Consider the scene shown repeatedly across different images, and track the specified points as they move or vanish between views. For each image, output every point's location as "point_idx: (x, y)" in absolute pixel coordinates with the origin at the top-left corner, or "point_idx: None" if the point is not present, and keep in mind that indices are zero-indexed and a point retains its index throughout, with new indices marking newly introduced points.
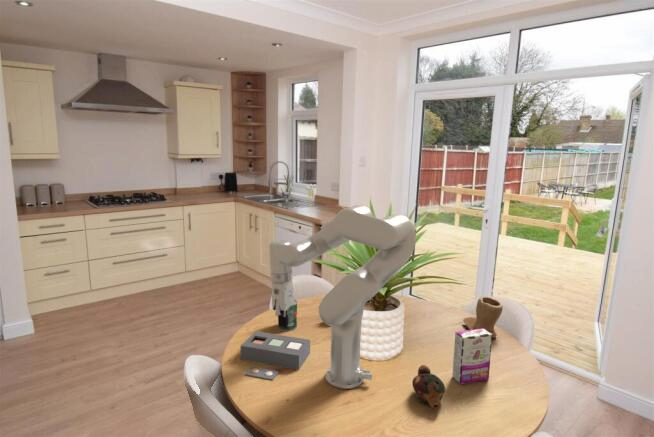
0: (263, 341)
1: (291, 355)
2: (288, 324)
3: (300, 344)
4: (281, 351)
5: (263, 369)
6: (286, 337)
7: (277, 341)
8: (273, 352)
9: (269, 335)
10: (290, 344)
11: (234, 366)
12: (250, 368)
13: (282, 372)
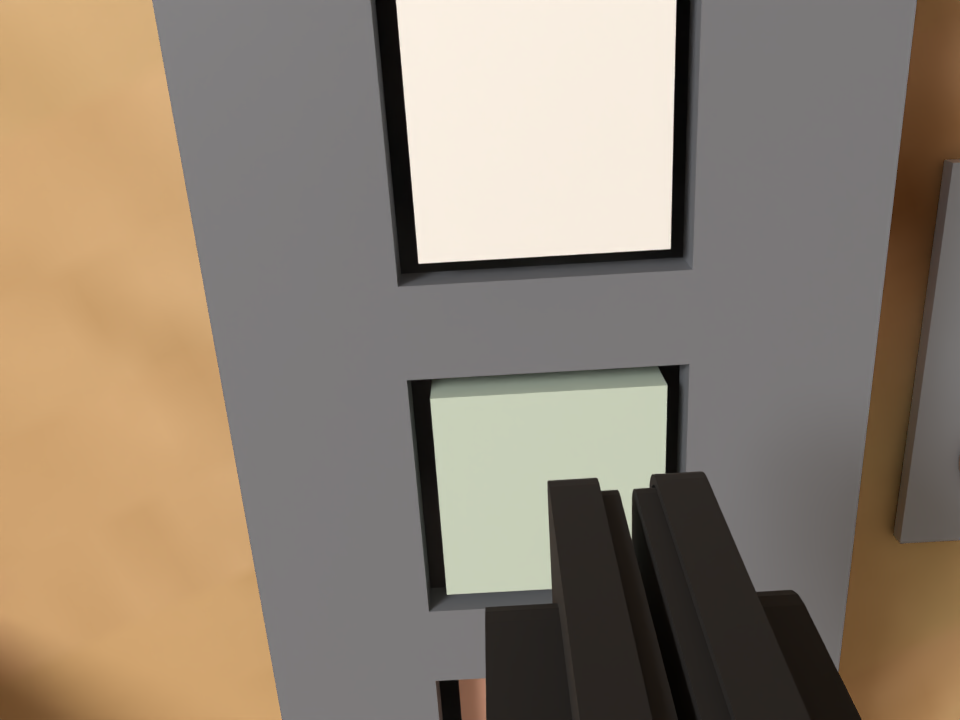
0: (477, 684)
1: (902, 23)
2: (547, 487)
3: (440, 17)
4: (843, 267)
5: (943, 379)
6: (286, 413)
7: (501, 491)
8: (860, 392)
9: (352, 690)
10: (522, 222)
11: (911, 702)
12: (953, 532)
13: (932, 104)
